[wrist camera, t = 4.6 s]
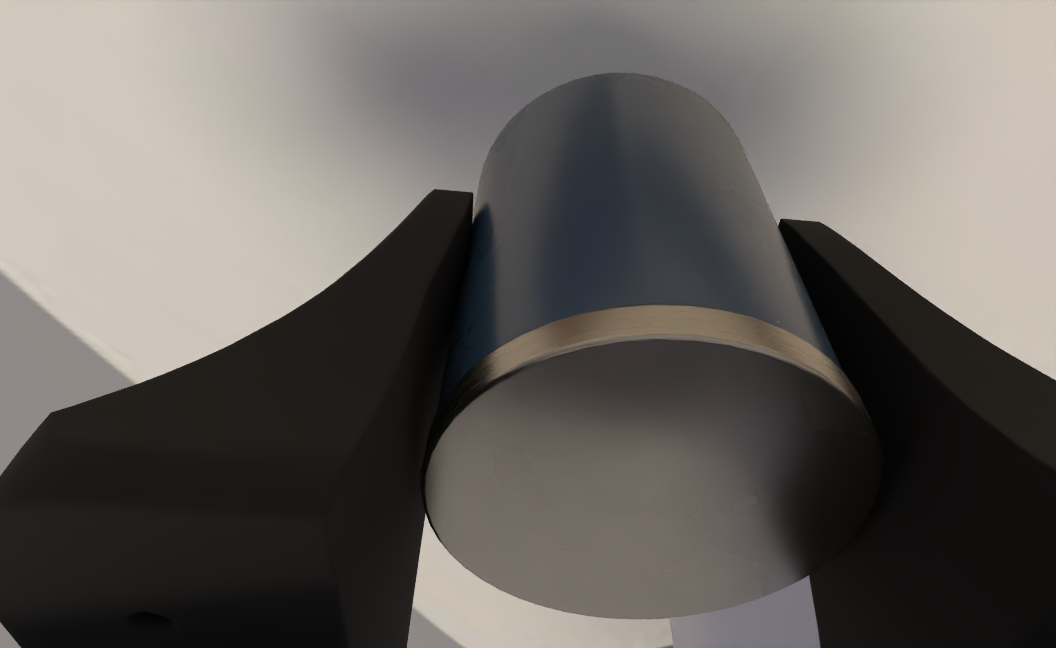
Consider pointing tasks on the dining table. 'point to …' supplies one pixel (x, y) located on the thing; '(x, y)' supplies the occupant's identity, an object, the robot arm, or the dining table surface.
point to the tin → (638, 371)
